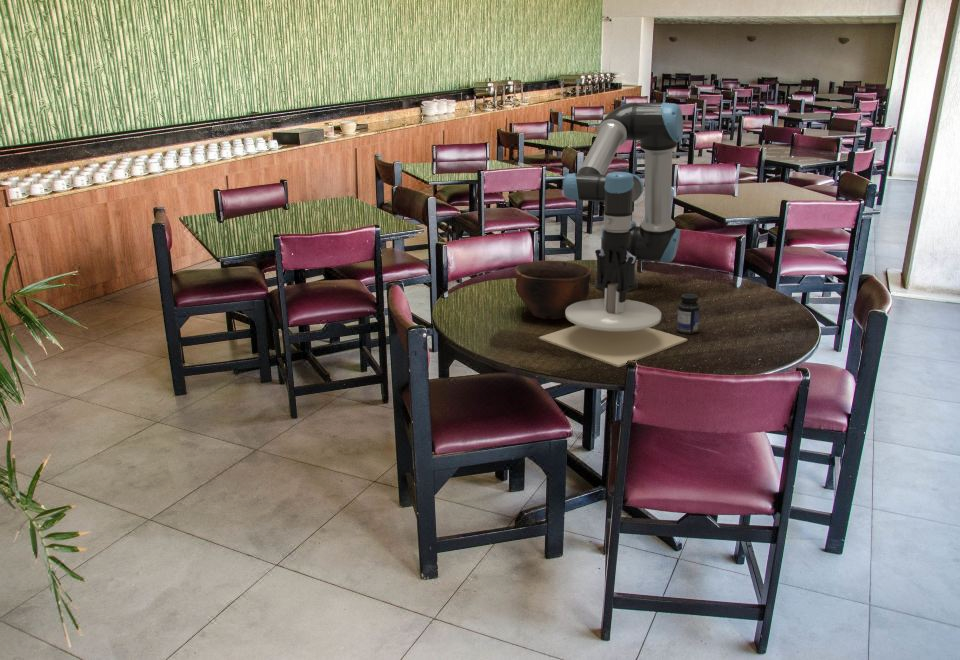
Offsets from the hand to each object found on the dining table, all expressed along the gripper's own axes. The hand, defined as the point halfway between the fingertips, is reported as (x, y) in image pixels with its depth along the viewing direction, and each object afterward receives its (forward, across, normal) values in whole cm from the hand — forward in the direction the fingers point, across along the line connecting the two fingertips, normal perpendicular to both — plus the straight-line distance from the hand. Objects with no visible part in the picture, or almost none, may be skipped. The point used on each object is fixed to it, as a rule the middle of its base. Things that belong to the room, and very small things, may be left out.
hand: (613, 310), depth 218 cm
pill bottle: (+9, +10, +22) cm, 26 cm away
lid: (+1, 0, 0) cm, 2 cm away
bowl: (+9, -29, +5) cm, 31 cm away
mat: (+9, 0, 0) cm, 9 cm away
